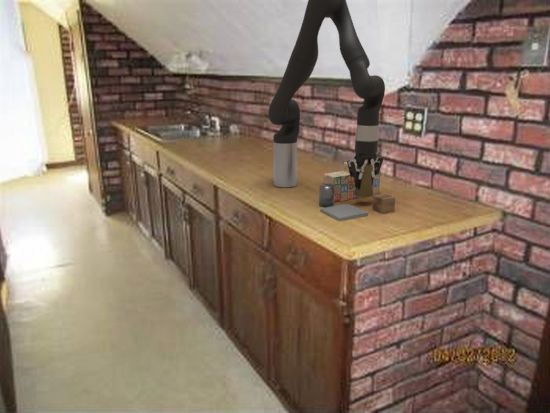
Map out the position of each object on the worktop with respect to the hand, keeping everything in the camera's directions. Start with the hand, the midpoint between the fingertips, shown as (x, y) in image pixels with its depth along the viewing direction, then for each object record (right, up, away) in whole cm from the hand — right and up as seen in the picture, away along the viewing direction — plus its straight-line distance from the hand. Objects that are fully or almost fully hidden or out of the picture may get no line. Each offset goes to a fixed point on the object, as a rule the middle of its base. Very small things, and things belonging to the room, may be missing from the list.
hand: (363, 188), depth 161 cm
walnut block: (+5, -8, -6) cm, 11 cm away
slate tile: (-8, -9, -8) cm, 14 cm away
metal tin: (-13, -6, 0) cm, 14 cm away
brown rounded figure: (0, -2, +1) cm, 3 cm away
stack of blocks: (-2, -3, +11) cm, 12 cm away
